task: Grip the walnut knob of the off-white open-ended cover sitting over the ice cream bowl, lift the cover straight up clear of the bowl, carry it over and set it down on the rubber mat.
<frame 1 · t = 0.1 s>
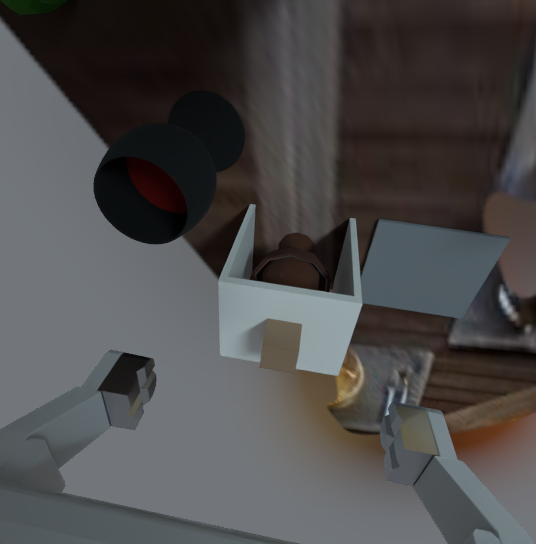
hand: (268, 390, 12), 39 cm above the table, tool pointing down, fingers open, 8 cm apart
cover: (296, 247, 55), on the table
mat: (422, 271, 54), on the table
ice cream bowl: (296, 246, 55), on the table
wine glass: (207, 133, 46), on the table
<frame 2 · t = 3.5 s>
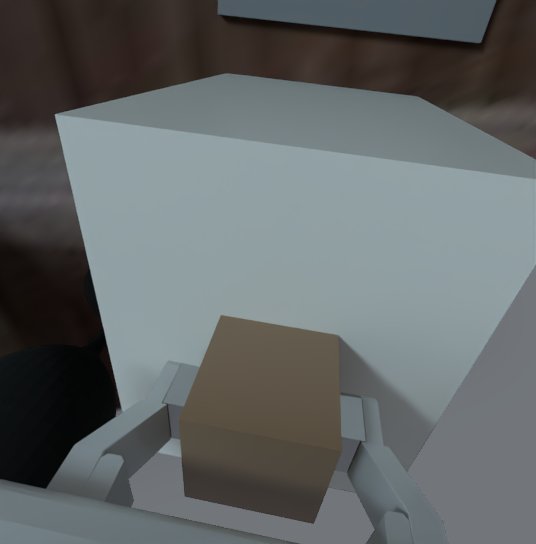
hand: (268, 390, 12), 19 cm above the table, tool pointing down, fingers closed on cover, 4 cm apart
cover: (302, 194, 28), on the table, touching gripper
wine glass: (133, 297, 37), on the table
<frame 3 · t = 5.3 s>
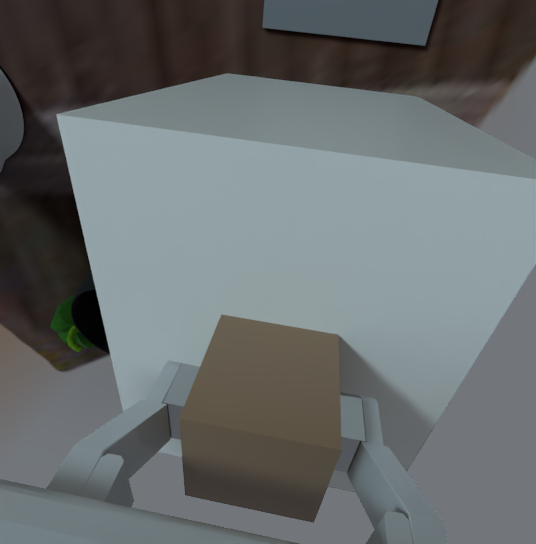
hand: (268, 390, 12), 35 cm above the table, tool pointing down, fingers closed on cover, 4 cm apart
cover: (303, 194, 28), point 16 cm above the table, touching gripper
bell pepper: (101, 300, 60), on the table
wine glass: (187, 232, 50), on the table
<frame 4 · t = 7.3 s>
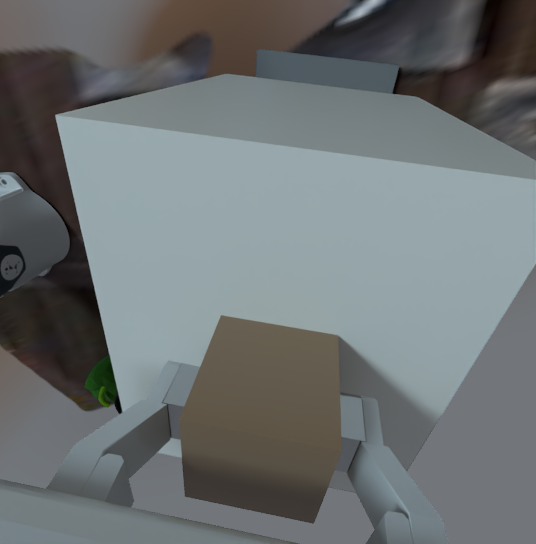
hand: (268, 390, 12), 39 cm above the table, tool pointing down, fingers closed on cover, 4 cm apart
cover: (302, 194, 28), point 20 cm above the table, touching gripper
mat: (314, 139, 44), on the table
bell pepper: (122, 360, 74), on the table
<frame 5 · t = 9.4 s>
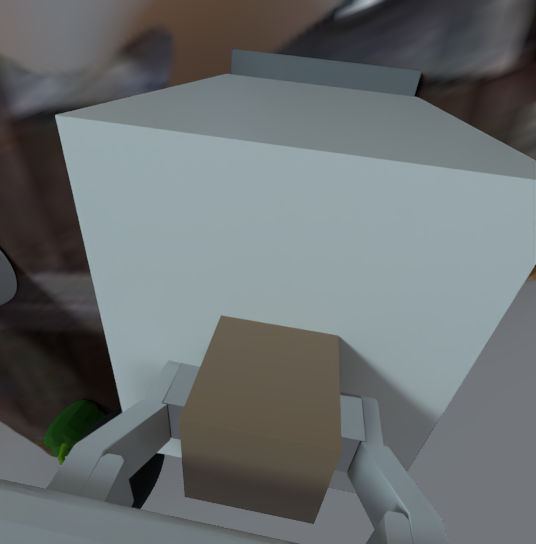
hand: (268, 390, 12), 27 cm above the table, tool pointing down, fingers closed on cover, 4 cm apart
cover: (302, 194, 28), point 8 cm above the table, touching gripper
mat: (308, 164, 34), on the table
bell pepper: (90, 407, 65), on the table
wine glass: (167, 364, 55), on the table
when the fingers open (21 cm above the table, at t = 11.0 s): cover drops 1 cm, resting on mat.
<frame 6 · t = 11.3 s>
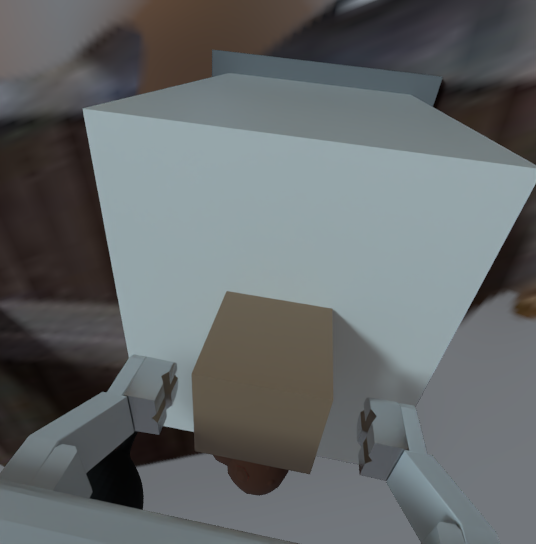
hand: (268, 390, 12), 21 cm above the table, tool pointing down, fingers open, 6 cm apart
cover: (302, 188, 29), point 1 cm above the table, touching mat
mat: (305, 185, 29), on the table
ice cream bowl: (270, 348, 41), on the table
wine glass: (151, 397, 50), on the table
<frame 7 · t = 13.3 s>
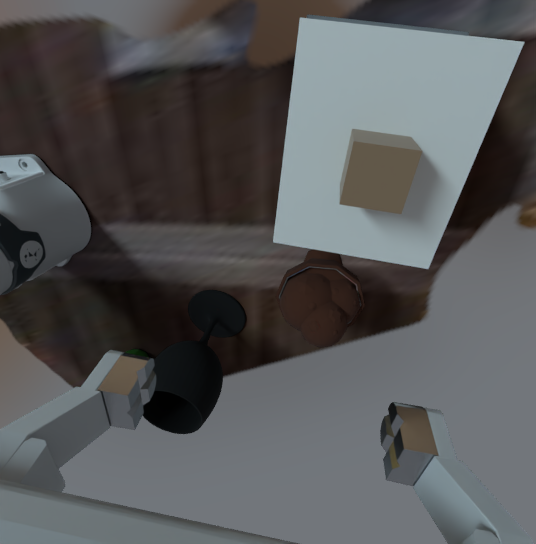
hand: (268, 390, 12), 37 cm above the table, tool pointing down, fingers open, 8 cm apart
cover: (361, 120, 40), point 1 cm above the table, touching mat
mat: (363, 118, 40), on the table
ice cream bowl: (322, 261, 51), on the table
wine glass: (217, 313, 61), on the table
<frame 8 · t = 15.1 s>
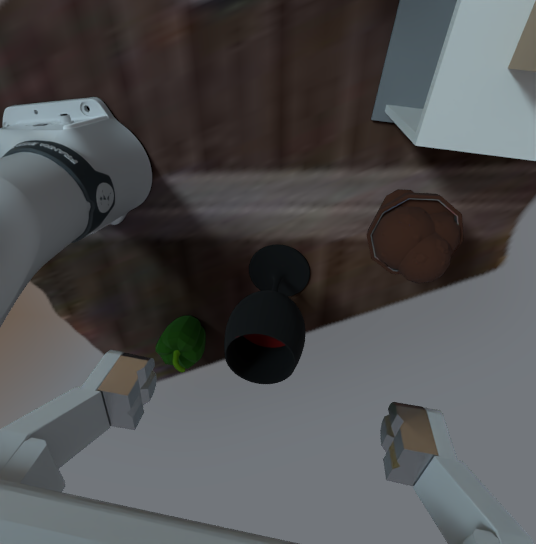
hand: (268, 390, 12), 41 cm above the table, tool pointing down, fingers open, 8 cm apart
cover: (464, 41, 38), point 1 cm above the table, touching mat
mat: (464, 41, 38), on the table
ice cream bowl: (400, 207, 50), on the table
bell pepper: (190, 325, 68), on the table
wine glass: (279, 270, 58), on the table
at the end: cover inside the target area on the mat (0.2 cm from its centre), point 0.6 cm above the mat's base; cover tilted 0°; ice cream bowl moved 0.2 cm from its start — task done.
